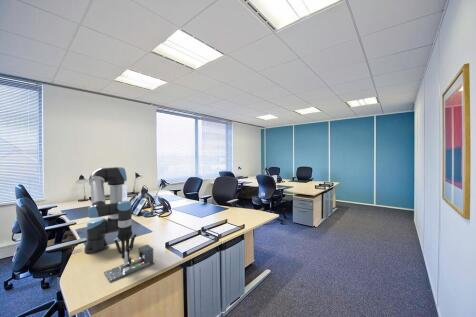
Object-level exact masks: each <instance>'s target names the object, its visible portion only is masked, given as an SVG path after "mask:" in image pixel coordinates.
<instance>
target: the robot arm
mask: <svg viewBox="0 0 476 317" xmlns="http://www.w3.org/2000/svg"><path fill="white" fill-rule="evenodd" d="M127 179H128V178H127V171H126V169H125V168H124V167H121V166H120V167H119V166H116V167H115V166H114V167H101V168H97V169H95V171H93V172H92V173H91V174H90V176H89V178H88V185H90V196H91V205H90V206H88V208H87V209H88V210H87V211H88V212H87V214H88V218H89V219H91V220H89V221H88V222H87V224H86V243H85V246H84V253H85V254H95V253H100V252H102V251H105V250H106V249H107V248H108V247H109V243H108V241H107V238H106V235H108V234H112V233H117V237H116V238H114V239H113V242H114V243H115V246H116V250H117V253H118V254H119V255H121V259H123V264H127V263H128V257H130V252H131V251H133V247H134V244H135V243H134V242H135V239H136V237H137V234H136V233H133V228H132V227H133V226H132V223H133V222H132V221H133V220H132V202H131V200H123V185H125V183H126V182H127V181H128V180H127ZM104 184H107V186H109V202H110V203H106V196H105V194H106V193H105V186H104ZM105 217H107V218H105ZM119 241H120V243H119ZM120 244H121V245H120Z"/></svg>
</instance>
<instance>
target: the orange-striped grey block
mask: <svg viewBox="0 0 476 317" xmlns="http://www.w3.org/2000/svg"><path fill="white" fill-rule="evenodd" d="M142 261H143V256H142V257H139V256H138V257H136V258H134V257H132V256H129V257H128V264H129V266H132V265H134V264H137V263H139V262H142Z"/></svg>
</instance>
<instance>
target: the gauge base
mask: <svg viewBox="0 0 476 317" xmlns="http://www.w3.org/2000/svg"><path fill="white" fill-rule="evenodd" d="M142 256H143V261H142V262H139V263H137V264H134V265H132V266H129V264H128V263H127V264H125V263H123V264H120V265H119V266H116V267H114V268H111V269H108V270H106V271H103V274H104V276H105V277H106V278H107V280H108V282H109V283H112V282H114V281H117V280H121V279H123V278H124V277H127V276H130V275H132V274H134V273H137V272H139V271H141V270H144V269H146V268H149V267H151V266H154V265H155V264H156V263H155V261H154V248H153V247H152V246H151V245H149V244H145V245H142V246H139V247H138V258H139V257H142Z"/></svg>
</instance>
